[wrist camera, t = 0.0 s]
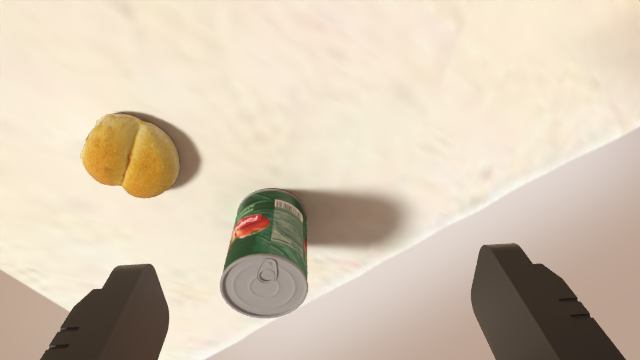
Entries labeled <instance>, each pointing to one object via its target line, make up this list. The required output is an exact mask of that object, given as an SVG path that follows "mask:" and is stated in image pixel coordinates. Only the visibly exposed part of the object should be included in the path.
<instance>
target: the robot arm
mask: <svg viewBox="0 0 640 360" xmlns="http://www.w3.org/2000/svg"><path fill="white" fill-rule="evenodd" d="M471 301H472V306H473V310H474V313H475V316H476V318H477V320H478V322H479V324H480V327H481V329H482V331H483V333H484V335H485V337H486V339H487V341H488V344H489V346H490V348H491V350H492V352H493V354H494V356H495V359H496V360H626V359H625V358H624V357H623V355H622V354H621V353H620V351H619V350H618V349H617V348H616V346H615V345H614V344H613V343H612V341H611V340H610V339H609V337H608V336H607V335H606V334H605V332H604V331H603V330H602V329H601V327H600V326H599V325H598V323H597V322H596V321H595V320H594V318H591V317H590V313H589V312H588V311H587V309H586V308H585V307H584V306H583V305H582V303H581V302H578V301H577V297H576V295H575V294H574V293H573V292H572V290H571V289H570V288H569V287H568V285H567V284H566V283H565V281H564V280H563V279H562V278H561V277H559V276H557V275H556V274H555V273H553V272H552V271H550V269H548V268H547V267H545V266H544V265H543V264H532V262H531V261H530V260H529V258H528V257H527V255H526V254H525V253H524V251H523V250H522V249H521V247H520V246H519V245H517V244H515V243H511V244H495V245H483V246H482V247H481V249H480V252H479V256H478V261H477V265H476V270H475V275H474V279H473V284H472V289H471ZM168 325H169V310H168V305H167V302H166V300H165V297H164V294H163V291H162V288H161V285H160V282H159V280H158V277H157V274H156V271H155V269H154V267H153V266H152V265H151V264H139V265H122V266H117V267H115V268H114V269H113V271H112V272H111V274H110V276H109V278H108V279H107V281H106V283H105V284H104V286H103V288H102V289H93V290H92V291H91V292H90V293H89V294H88V295H87V296H85V297H84V298H83V299H82V300H81V301H80V302H79V303H78V304H77V305H75V306H74V307H73V309H72V310H71V312H70V314H69V315H68V317H67V318H66V320H65V321H64V323H63V325H62V326H61V330H60V332H58V333H57V334H56V336H55V337H54V339H53V340H52V342H51V343H50V345H49V346H50V348H49V350H46V351H45V353H44V354H43V356H42V358H41V359H40V360H158V357H159V354H160V351H161V348H162V346H163V343H164V340H165V337H166V334H167V331H168Z"/></svg>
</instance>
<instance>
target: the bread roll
mask: <svg viewBox="0 0 640 360" xmlns="http://www.w3.org/2000/svg"><path fill="white" fill-rule="evenodd" d="M80 157H81V159H82V161H83V165H84V167H85V169H86V170H87V172H88V173H89V174H90V175H91V176H92V177H93V178H94V179H95V180H96V181H98V182H99V183H101V184H105V185H111V186H116V185H119V186H122V187H123V188H124V189H125V190H126V191H127V192H128V193H129V194H130V195H132V196H134V197H139V198H150V197H155V196H157V195H160V194H162V193H163V192H164V191H166V190H167V189H169V188H170V187H171V186H172V185H173V184H174V182H175V181H176V178H177V177H178V174H179V169H180V163H179V156H178V152H177V149H176V147H175V145H174V143H173V141H172V140H171V139H170V137H169V136H168V135H167V134H166V133H165V132H164V131H163V130H161V129H160V128H159V127H157V126H156V125H154V124H152V123H148V122H145V121H142V120H140V119H138V118H137V117H134V116H131V115H126V114H108V115H106V116H104V117H102V118H101V119H99V120H97V121H96V124H95V127H94V128H93V129H92V131H91V132H90V133H89V134H88V137H87V138H86V142H85V144H84V146H83V149H82V152H81V154H80Z"/></svg>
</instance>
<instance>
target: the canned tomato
mask: <svg viewBox="0 0 640 360" xmlns="http://www.w3.org/2000/svg"><path fill="white" fill-rule="evenodd" d="M306 220H307V216H306V211H305V208H304V206H303V204H302V203H301V202H300V200H299V199H297V198H296V197H295V196H294V195H292V194H290V193H289V192H286V191H284V190H279V189H261V190H258V191H255V192H253V193H251V194H249V195H248V196H247V197H246V198H244V200H243V201H242V202H241V204H240V206H239V208H238V211H237V217H236V221H235V225H234V229H233V233H232V237H231V241H230V245H229V249H228V253H227V258H226V262H225V265H224V271H223V275H222V277H221V281H220V291H221V294H222V297H223V298H224V300H225V301H226V303H227V304H229V305H230V306H231V307H232V308H233V309H235V310H236V311H238V312H240V313H242V314H244V315H247V316H251V317H256V318H275V317H279V316H283V315H286V314H288V313H290V312H292V311H294V310H295V309H297V308H298V307H299V306H300V305H301V304H302V303H303V301H304V300H305V298H306V295H307V292H308V283H307V234H306V233H307V230H306V227H307V225H306Z"/></svg>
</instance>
